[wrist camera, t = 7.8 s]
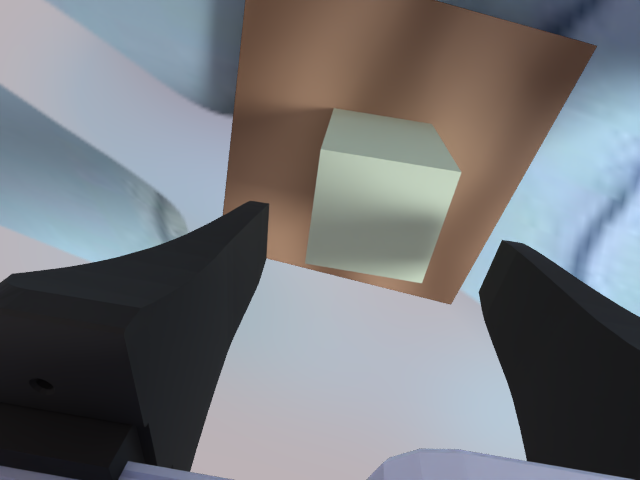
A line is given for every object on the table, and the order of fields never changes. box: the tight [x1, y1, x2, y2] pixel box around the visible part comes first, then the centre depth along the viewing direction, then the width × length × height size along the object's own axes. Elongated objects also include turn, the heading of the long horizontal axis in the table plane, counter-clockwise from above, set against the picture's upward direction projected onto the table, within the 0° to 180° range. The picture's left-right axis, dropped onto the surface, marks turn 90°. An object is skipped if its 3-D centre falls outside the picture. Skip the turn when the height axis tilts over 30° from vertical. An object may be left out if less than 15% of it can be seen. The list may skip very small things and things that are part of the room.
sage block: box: [305, 108, 461, 283], centre depth 16 cm, size 4×4×6 cm
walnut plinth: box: [223, 0, 597, 304], centre depth 19 cm, size 14×14×2 cm
